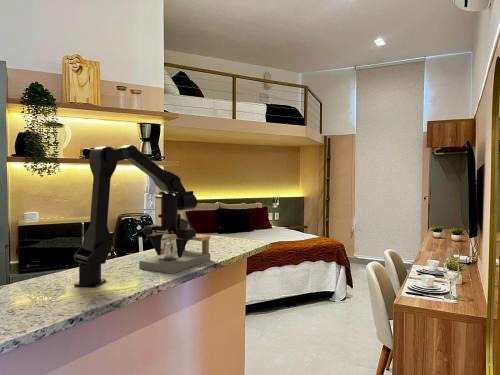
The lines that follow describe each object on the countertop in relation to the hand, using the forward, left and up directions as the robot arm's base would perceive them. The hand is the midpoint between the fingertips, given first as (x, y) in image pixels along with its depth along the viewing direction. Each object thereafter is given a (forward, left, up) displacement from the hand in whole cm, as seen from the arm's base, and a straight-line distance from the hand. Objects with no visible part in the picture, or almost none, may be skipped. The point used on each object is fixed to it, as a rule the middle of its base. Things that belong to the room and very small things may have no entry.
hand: (169, 256), depth 129 cm
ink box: (+21, +8, -4) cm, 22 cm away
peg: (0, 0, -4) cm, 4 cm away
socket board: (+4, -1, -4) cm, 5 cm away
